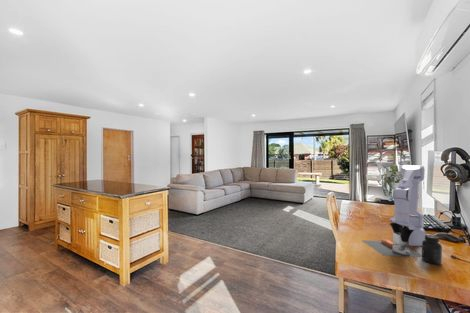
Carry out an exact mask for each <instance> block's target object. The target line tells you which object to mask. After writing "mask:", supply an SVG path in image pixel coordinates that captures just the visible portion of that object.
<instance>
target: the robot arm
mask: <svg viewBox="0 0 470 313" xmlns="http://www.w3.org/2000/svg"><path fill="white" fill-rule="evenodd" d="M425 172H426V170H425V166H424V165H421V164H420V165H416V164H413V165H411V164H402V165H401V166H400V174H401V176H402V179H400V180H399V181H398V184H397V186H396V188H394V189H393V191H392V197H393V203H394V212H393V213H394V215H393V216H394V217H392V216H391V217H389V222H390V223H389V225H390V227H391V229H392V233H393V232H401V234H402V241H403V242H408V240H409V245H408V246H413V247H414V246H416V247H418V246H419V247H422V241H424V240H425V235H427V233H426V231H425V229H424V225H425V220H424V218H425V217H424V215H423V213H421V212H420V211H419V210H418V207H419V206H418V204H419V187H420V186H419V185H420V182H423V181H424V179H425Z"/></svg>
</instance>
